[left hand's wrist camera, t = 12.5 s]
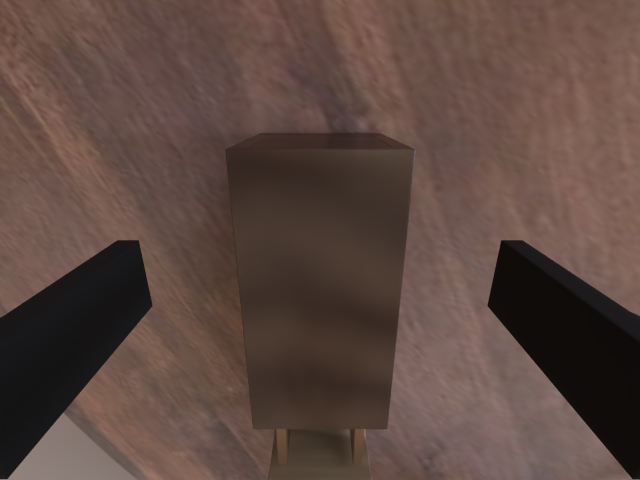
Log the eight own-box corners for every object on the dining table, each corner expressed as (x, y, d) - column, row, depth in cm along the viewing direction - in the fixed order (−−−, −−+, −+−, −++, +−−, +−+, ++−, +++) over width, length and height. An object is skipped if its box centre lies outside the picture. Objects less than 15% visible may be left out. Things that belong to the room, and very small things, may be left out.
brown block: (368, 336, 36) (387, 429, 26) (272, 336, 36) (253, 429, 26) (381, 133, 29) (416, 149, 18) (259, 133, 29) (224, 149, 18)
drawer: (357, 442, 41) (367, 531, 32) (282, 442, 41) (272, 531, 32) (369, 246, 31) (387, 298, 23) (271, 246, 31) (252, 298, 23)
